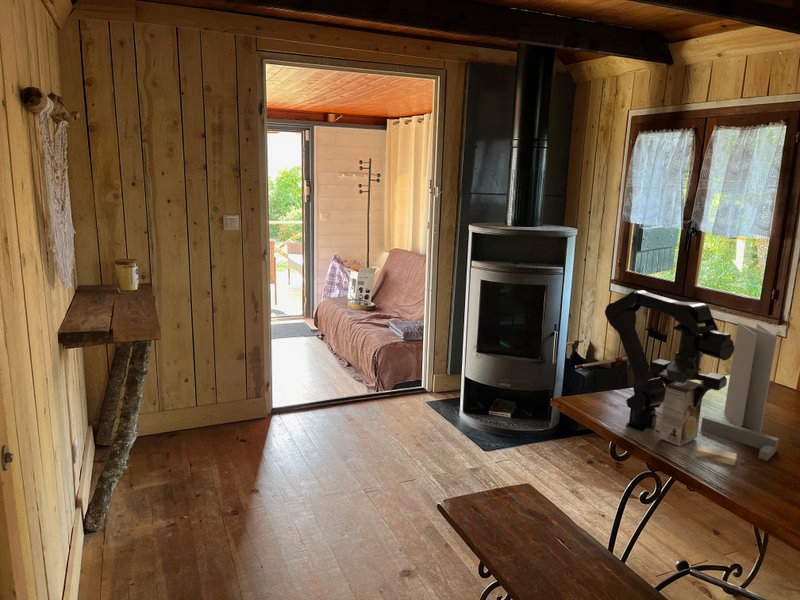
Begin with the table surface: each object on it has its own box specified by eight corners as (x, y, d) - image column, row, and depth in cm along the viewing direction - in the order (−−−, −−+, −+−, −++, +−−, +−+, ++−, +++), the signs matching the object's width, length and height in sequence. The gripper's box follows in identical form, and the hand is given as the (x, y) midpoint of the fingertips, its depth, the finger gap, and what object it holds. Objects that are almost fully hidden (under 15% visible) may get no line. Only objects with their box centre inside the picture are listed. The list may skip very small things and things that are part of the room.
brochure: (760, 434, 170) (777, 336, 164) (739, 432, 171) (755, 335, 165) (743, 415, 184) (757, 323, 177) (724, 413, 185) (738, 322, 178)
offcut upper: (696, 456, 154) (697, 449, 154) (697, 450, 157) (698, 444, 157) (734, 465, 150) (735, 459, 149) (735, 459, 153) (736, 453, 152)
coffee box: (675, 429, 169) (682, 377, 165) (697, 438, 164) (705, 384, 160) (658, 438, 163) (665, 384, 160) (680, 447, 158) (687, 391, 155)
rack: (691, 439, 167) (693, 423, 165) (702, 431, 172) (705, 415, 171) (766, 464, 153) (769, 447, 152) (775, 455, 158) (778, 438, 157)
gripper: (642, 346, 159) (636, 400, 162) (714, 364, 145) (706, 422, 149) (661, 339, 166) (654, 390, 170) (731, 355, 153) (722, 411, 156)
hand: (682, 403), depth 161 cm, fingers closed on coffee box, 6 cm apart
